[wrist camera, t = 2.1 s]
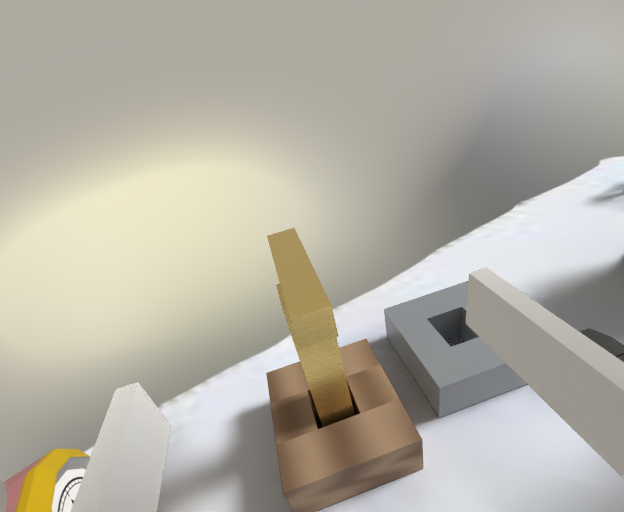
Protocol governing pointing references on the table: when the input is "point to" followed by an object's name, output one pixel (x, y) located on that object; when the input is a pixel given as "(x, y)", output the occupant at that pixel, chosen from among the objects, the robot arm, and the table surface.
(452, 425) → the table surface
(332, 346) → the t key
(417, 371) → the block
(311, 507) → the block
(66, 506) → the alarm clock
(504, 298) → the robot arm
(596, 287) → the table surface
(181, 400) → the table surface
